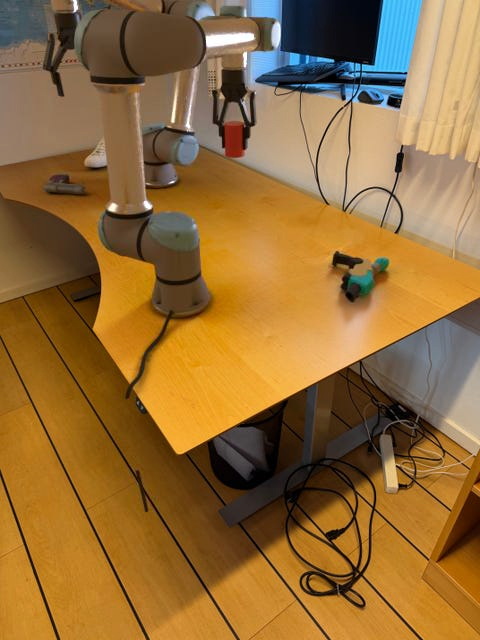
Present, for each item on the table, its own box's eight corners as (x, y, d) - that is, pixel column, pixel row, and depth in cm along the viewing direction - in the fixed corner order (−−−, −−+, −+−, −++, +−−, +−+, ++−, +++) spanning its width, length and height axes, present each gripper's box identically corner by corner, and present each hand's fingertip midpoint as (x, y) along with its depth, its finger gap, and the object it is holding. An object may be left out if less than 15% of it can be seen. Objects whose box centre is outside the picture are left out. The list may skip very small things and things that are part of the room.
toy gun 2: (311, 281, 124) (367, 296, 118) (342, 242, 143) (392, 253, 137) (309, 296, 127) (365, 311, 121) (340, 255, 145) (389, 267, 139)
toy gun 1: (99, 183, 198) (82, 197, 186) (58, 181, 201) (39, 194, 189) (97, 174, 195) (80, 188, 184) (55, 172, 199) (36, 184, 187)
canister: (241, 151, 158) (241, 120, 152) (246, 157, 153) (246, 125, 147) (223, 153, 157) (222, 121, 151) (227, 158, 152) (226, 126, 146)
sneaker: (78, 170, 212) (72, 142, 204) (110, 151, 234) (106, 126, 226) (99, 172, 209) (94, 144, 202) (129, 153, 231) (126, 127, 224)
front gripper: (268, 67, 141) (266, 146, 155) (206, 65, 145) (209, 142, 159) (263, 71, 135) (261, 153, 149) (198, 68, 139) (202, 149, 153)
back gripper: (28, 14, 127) (48, 100, 139) (112, 10, 140) (123, 89, 152) (18, 13, 131) (38, 96, 144) (100, 9, 144) (112, 85, 157)
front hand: (234, 147), depth 154 cm, fingers closed on canister, 6 cm apart
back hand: (82, 93), depth 148 cm, fingers open, 13 cm apart
